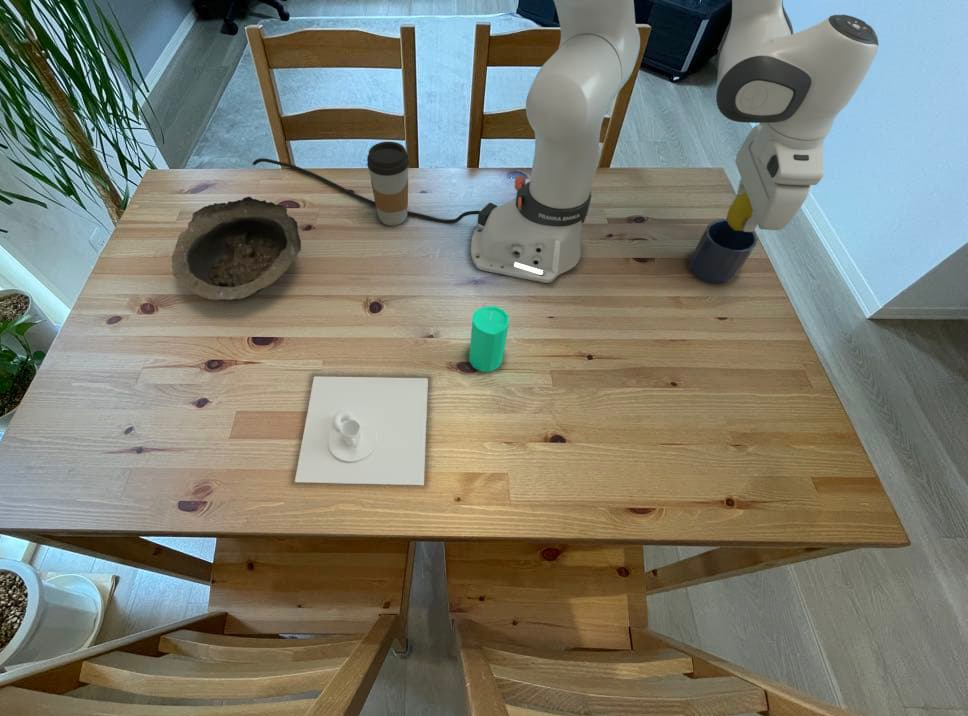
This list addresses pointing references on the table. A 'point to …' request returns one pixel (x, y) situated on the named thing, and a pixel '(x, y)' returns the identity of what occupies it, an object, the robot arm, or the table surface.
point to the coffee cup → (389, 181)
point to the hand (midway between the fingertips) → (742, 216)
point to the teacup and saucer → (365, 431)
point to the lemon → (739, 212)
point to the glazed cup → (721, 252)
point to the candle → (488, 338)
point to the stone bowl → (235, 248)
